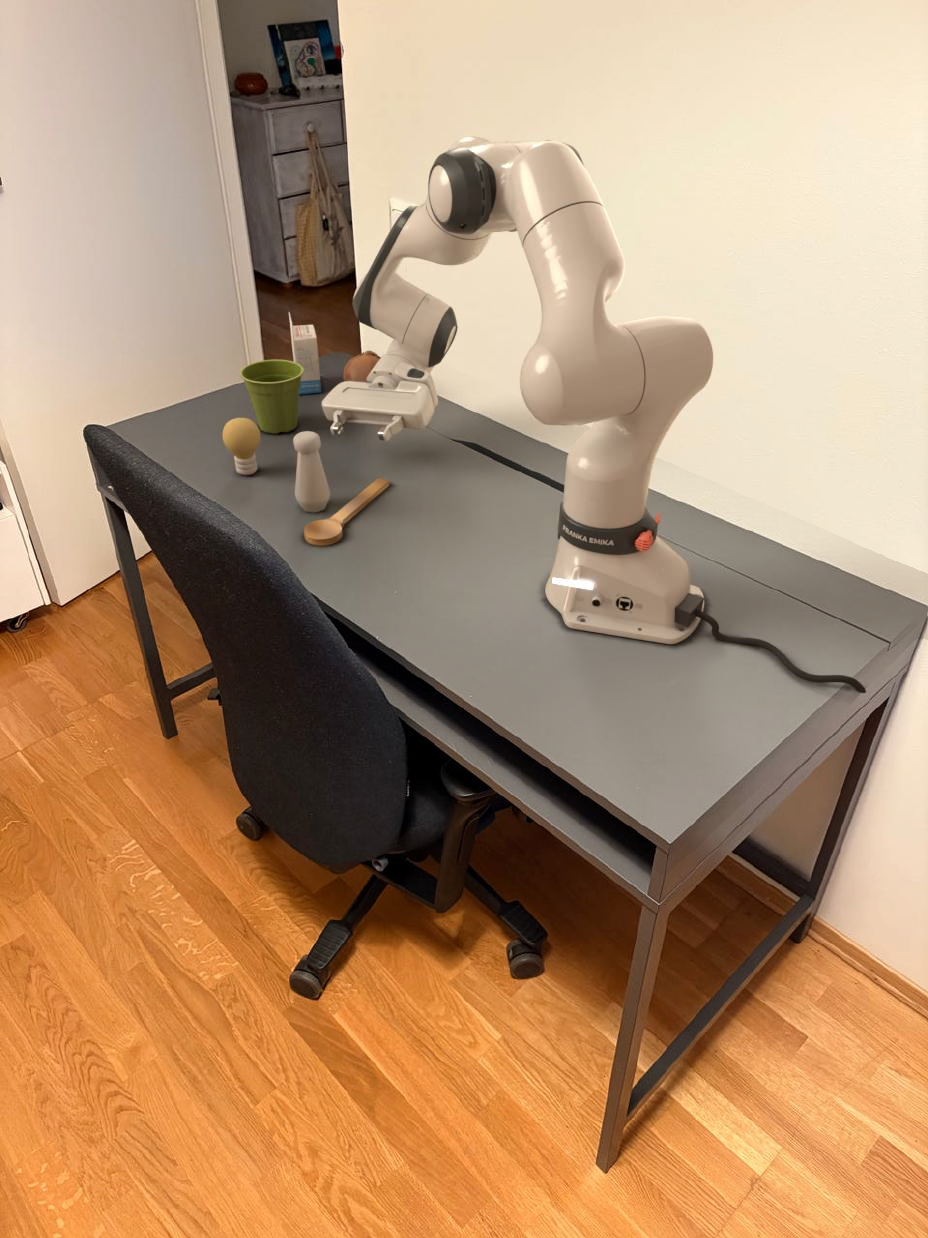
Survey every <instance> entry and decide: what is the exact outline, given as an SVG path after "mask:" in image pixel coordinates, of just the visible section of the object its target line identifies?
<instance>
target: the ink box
mask: <svg viewBox="0 0 928 1238" xmlns="http://www.w3.org/2000/svg"><path fill="white" fill-rule="evenodd" d="M288 318H289V328H290V339H291V350H292V358H293V362H296V363H298V364H300V365H301V366H302V367H303V368H304V373H303V374H302V375H301V384H300V386H299V395H307V394H318V393H319V394H320V393H322V383H321V373H320V370H321V369H320V361H319V348H318V338H317V333H316V329H315V326H314V324H303V325H293V321H292V317H291V313H290V311H288Z"/></svg>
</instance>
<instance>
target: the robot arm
mask: <svg viewBox="0 0 928 1238" xmlns="http://www.w3.org/2000/svg"><path fill="white" fill-rule="evenodd" d="M502 232H510V233H514V232H517V236H518V238H519V242H520V243H521V247H522V249H523V252H524V254H525V257H526V260H527V263H528V266H529V269H530V271H531V274H532V278H533V281H534V284H535V287H536V290H537V293H538V297H539V300H540V301H539V302H540V311H541V320H540V321H541V322H540V327H539V328H540V329H539V332H538V335H537V337H536V339H535V341H534V343H533V344H532V346H531V347H530V349H528V351H527V353H526V354H525V357H524V359H523V362H522V365H521V368H520V373H519V389H520V394H521V398H522V400H523V403H524V405H525V406H526V408H527V409H528V411H529V413H530V414H531V415H532V416H533V417H534V418H535V419H536V420H537V421H538V422H540V423H541V424H543V425H546V426H583V425H588V424H592V423H593V424H592V425H591V427H589V428H588V429H587V430H586V431H585V432H584V433H583V434H582V435H580V437H579V438H578V439H577V440H575V442H573V444H572V446H571V447H570V449H569V451H568V453H567V457H566V462H565V473H564V474H565V475H564V485H563V486H564V487H563V488H564V489H563V501H561V502H560V505H559V511H558V515H557V525H556V527H557V540H558V545H557V550H556V554H555V557H554V562H553V566H552V569H551V572H550V574H549V577H548V580H547V582H546V584H545V588H544V591H545V596H546V599H547V601H548V602H549V603H550V605H551V606H552V607H553V608H554V609H555V610H557V611H558V613H560V615H561V617H562V620H563V623H564V624H565V625H566V627H567V628H570V629H573V630H579V631H585V632H591V633H597V634H604V635H610V636H616V637H623V638H628V639H634V640H641V641H647V642H653V643H657V644H658V643H659V644H665V645H677V644H678V643H680V642H682V641H684V640H686V639H687V638H688V637H689V636H691V635H692V634H693V633H694V632H695V630H696V629H697V627H698V625H699V623H701V620H703V621H704V622H705V623H707V624H709V625H710V627H711V635H712V637H714V638H715V639H716V640H718V641H721V642H724V643H731V644H737V645H747V646H754V647H758V648H759V647H760V648H762V649H764V650H767V651H769V652H770V653H771V654H772V655H774V656H775V657H776V659H778V660H779V661H780V663H781V664H782V665H783V666H784V667H785V668H786V670H788V671H789V672H791V673H792V674H793V675H795V676H797V677H798V678H800V679H803V680H805V681H807V682H812V683H826V684H827V683H843V684H846V685H850V686H851V687H853V688H854V689H855V690H856V691H857V692H859V693H860V694H866V693H867V690H866V688H865V687H864V685H863V684H862V683H861V682H860V681H859V680H857V679H856V678H853V677H852V676H849V675H845V674H844V675H843V674H824V675H823V674H814V673H813V674H812V673H809V672H806V671H804V670H802V669H800V668H798V666H796V665H795V664H793V663H792V661H791V660H790V659H789V658H788V657H787V656H786V655H785V654H784V653H783V652H782V651H781V650H780V649H779V648H778V647H777V646H775V645H773V644H772V643H770V642H769V641H766V640H763V639H759V638H753V637H734V636H728V635H725V634H723V633H722V632H720V631H719V630H720V625H719V622H718V621H717V620H716V619H715V617H713V616H711V615H709V614H708V613H706V612H704V610H705V597H704V593H703V592H702V590H701V588H699V587H698V586H696V585H694V584H691V583H692V580H691V572H690V567H689V565H688V562H687V561H686V560H685V559H684V558H683V557H682V556H681V555H679V554H678V553H677V552H676V551H675V550H674V549H672V548H671V547H670V546H669V545H668V544H667V543H666V542H664V540H663V539H661V537H659V536H658V528H659V524H660V520H661V512H658V514H657V515H656V517H655V518H654V517H653V516H652V514H650V512H649V510H648V508H647V501H648V494H649V487H650V481H651V477H652V476H651V475H652V472H653V467H654V463H655V461H656V457H657V454H658V452H659V450H660V447H661V446H662V443H663V442H664V439H665V438H666V436H667V433H668V432H669V430H670V428H671V427H672V425H673V424H674V422H675V421H676V419H677V417H678V416H679V414H680V413H681V411H682V410H683V409H684V408H685V406H687V404H688V403H689V402H690V401H691V400H692V399H693V398H694V397H695V396H696V395H697V394H699V392H701V391H702V390H703V389H704V388H705V387H706V385H707V384H708V382H709V381H710V378H711V376H712V372H713V369H714V365H715V363H714V362H715V353H714V347H713V344H712V340H711V337H710V336H709V333H708V332H707V330H706V329H705V328H704V327H703V325H701V323H700V322H698V321H697V320H695V319H693V318H690V317H679V316H663V315H662V316H661V315H659V316H658V315H657V316H652V317H647V318H646V317H645V318H641V319H635V320H628V321H624V322H620V323H613V322H612V321H611V319H610V318H609V316H608V313H607V307H606V303H607V302H608V301H609V300H610V299H611V298H612V297H613V296H614V294H616V293H617V291H618V290H619V288H620V286H621V285H622V282H623V280H624V276H625V271H626V259H625V257H624V254H623V250H622V249H621V245H620V243H619V241H618V238H617V235H616V233H615V231H614V228H613V225H612V223H611V221H610V218H609V215H608V213H607V209H606V208H605V206H604V202H603V200H602V198H601V196H600V194H599V192H598V190H597V188H596V185H595V184H594V182H593V180H592V178H591V176H590V174H589V172H588V171H587V169H586V166H585V164H584V161H583V159H582V157H581V155H580V153H579V152H578V150H577V149H576V148H575V147H574V146H573V145H571V144H569V143H566V142H563V141H558V140H551V139H547V140H544V141H508V140H503V141H495V142H492V141H491V140H488V139H486V138H484V137H479V136H466V137H462V138H460V139H458V140H456V141H455V142H453V143H452V144H451V146H450V147H449V148H448V149H447V150H446V151H444V152H442V153H440V154H439V155H438V156H437V157H436V159H435V160H434V161H433V164H432V166H431V168H430V171H429V175H428V183H427V196H426V199H425V201H424V202H423V203H422V204H420V205H409V206H407V207H406V208H405V209H404V210H403V211H402V212H401V214H399V216H398V218H397V219H396V221H394V223H393V225H392V227H391V228H390V230H389V232H388V234H387V236H386V237H385V239H384V241H383V242H382V245H381V247H380V248H379V250H378V252H377V255H376V256H375V258H374V260H373V262H372V264H371V265H370V268H369V270H368V271H367V273H365V275H364V276H363V277H362V279H361V280H360V281H359V283H358V284H357V286H356V289H355V291H354V294H353V297H352V308H353V311H354V315H355V316H356V318H357V320H358V322H359V323H360V324H363V325H364V326H367V327H369V328H372V329H374V330H376V331H379V332H381V333H382V334H384V335H386V336H387V337H389V338H392V339H393V340H392V341H391V343H390V344H389V346H388V347H387V350H386V353H385V354H383V355H382V356H380V357H381V358H380V360H379V361H378V362H377V364H376V365H375V367H374V368H373V369H372V371H371V372H370V374H369V375H368V377H367V380H366V382H355V381H342V382H339V383H338V384H337V385H335V386H334V387H333V388H332V389H331V391H329V392H328V393H327V395H326V396H325V397H324V398H323V399H322V400H321V403H320V404H321V408H322V412H323V414H324V416H325V418H326V419H327V421H331V422H333V423H332V424H331V426H330V433H331V435H332V436H337V437H341V436H342V435H343V433H344V432H345V428H344V427H343V425H345V423H350V424H351V423H352V424H361V425H369V426H371V425H372V426H381V427H380V429H379V430H378V431H377V436H378V439H379V441H384V442H389V441H390V439H391V437H393V436H395V435H396V434H398V433H400V432H401V431H403V430H404V429H409V430H411V429H412V430H422V429H424V428H425V427H427V426H428V425H429V423H430V421H431V420H432V419H433V416H434V414H435V410H436V409H435V408H436V407H437V406H438V404H439V398H438V393H437V389H436V385H435V382H434V380H433V376H432V375H431V373H432V371H433V369H434V368H435V366H437V365H438V364H440V363H442V361H443V360H444V358H445V356H446V354H447V353H448V352H449V350H450V348H451V347H452V345H453V343H454V340H455V338H456V336H457V332H458V328H459V326H458V320H457V315H456V314H455V311H454V309H453V307H452V306H450V305H449V304H448V303H446V302H444V301H443V300H441V299H439V298H437V297H436V296H434V295H432V294H431V293H429V292H426V291H425V290H423V289H421V288H420V287H417V286H416V285H415V284H412V283H411V282H409V281H407V280H406V279H405V278H403V277H402V276H400V275H399V273H398V272H397V271H398V269H399V268H400V266H401V264H402V263H403V260H404V259H405V258H411V259H412V258H413V259H420V260H424V261H428V262H431V263H434V264H438V265H442V266H458V265H464V264H467V263H469V262H471V261H474V260H475V259H476V258H478V257H479V256H480V255H481V254H482V253H483V251H484V250H485V249H486V247H487V245H488V243H489V242H490V239H491V237H492V235H493V233H502Z"/></svg>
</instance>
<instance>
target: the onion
mask: <svg viewBox="0 0 928 1238" xmlns="http://www.w3.org/2000/svg"><path fill="white" fill-rule="evenodd" d="M381 357H382V356H380V355H379V354H378V353H376V352H375V351H372V350H366V351H363V352H362V353H360V354H358V355H356V356H354V357H352V358H350V359H349V360H348V361H347V362H346V364H345V366H344V368H343V374H342V375H343V382H345V381H355V382H366V380H367V377H368V375H369V374H370V372H371V371H372V369H373V368H374V367H375V365H376V364H377V362H378V361H379V360H380V358H381Z"/></svg>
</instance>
